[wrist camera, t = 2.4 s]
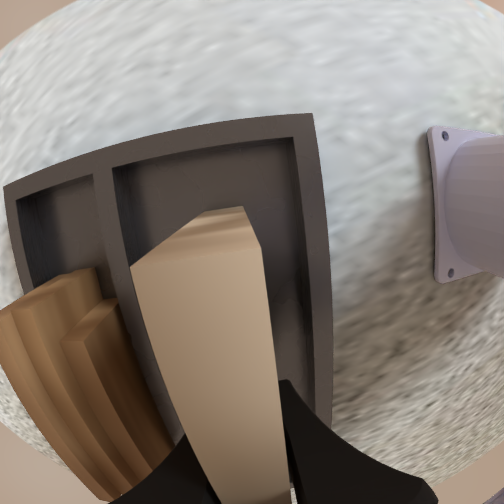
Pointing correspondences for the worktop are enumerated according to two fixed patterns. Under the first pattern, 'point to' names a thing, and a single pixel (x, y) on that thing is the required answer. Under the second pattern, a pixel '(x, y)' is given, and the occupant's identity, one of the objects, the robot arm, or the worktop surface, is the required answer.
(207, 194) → the rack
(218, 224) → the birch sheet
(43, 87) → the worktop surface
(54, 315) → the oak offcuts
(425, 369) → the worktop surface
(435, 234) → the robot arm
